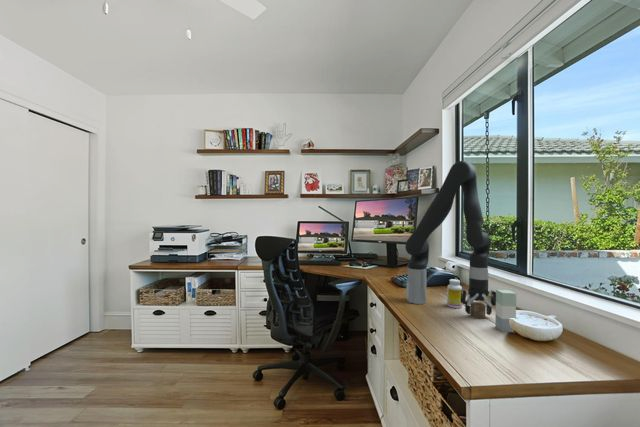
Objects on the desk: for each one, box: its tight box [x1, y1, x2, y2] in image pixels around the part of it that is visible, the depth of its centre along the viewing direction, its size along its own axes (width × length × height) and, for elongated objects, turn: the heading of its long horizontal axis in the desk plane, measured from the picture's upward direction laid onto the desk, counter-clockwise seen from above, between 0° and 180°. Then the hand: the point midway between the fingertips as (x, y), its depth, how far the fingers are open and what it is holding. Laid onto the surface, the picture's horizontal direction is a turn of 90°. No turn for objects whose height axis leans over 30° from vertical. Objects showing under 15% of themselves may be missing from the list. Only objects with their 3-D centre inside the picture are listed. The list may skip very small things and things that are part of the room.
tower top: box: [495, 289, 517, 308], centre depth 115 cm, size 5×5×5 cm
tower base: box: [494, 314, 515, 333], centre depth 115 cm, size 5×5×5 cm
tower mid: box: [495, 302, 517, 320], centre depth 115 cm, size 5×5×5 cm
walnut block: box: [469, 301, 487, 320], centre depth 128 cm, size 4×4×6 cm
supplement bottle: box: [446, 278, 463, 309], centre depth 142 cm, size 7×7×13 cm
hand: (478, 314), depth 128 cm, fingers open, 8 cm apart
